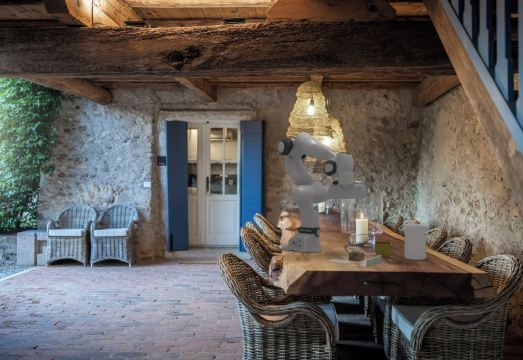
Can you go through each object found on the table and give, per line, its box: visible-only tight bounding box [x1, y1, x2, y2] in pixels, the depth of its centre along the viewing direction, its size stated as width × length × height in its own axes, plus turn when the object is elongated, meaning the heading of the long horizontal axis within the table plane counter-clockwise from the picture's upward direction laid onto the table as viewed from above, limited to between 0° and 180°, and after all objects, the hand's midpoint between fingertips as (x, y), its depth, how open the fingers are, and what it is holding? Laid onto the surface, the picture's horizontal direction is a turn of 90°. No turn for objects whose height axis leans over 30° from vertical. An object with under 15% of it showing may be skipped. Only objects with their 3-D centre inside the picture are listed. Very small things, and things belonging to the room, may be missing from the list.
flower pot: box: [374, 240, 393, 259], centre depth 250 cm, size 9×9×9 cm
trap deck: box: [327, 255, 382, 267], centre depth 236 cm, size 22×18×4 cm
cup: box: [403, 223, 427, 261], centre depth 254 cm, size 11×11×18 cm
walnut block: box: [348, 250, 365, 263], centre depth 238 cm, size 6×6×4 cm
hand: (346, 207), depth 249 cm, fingers open, 8 cm apart
